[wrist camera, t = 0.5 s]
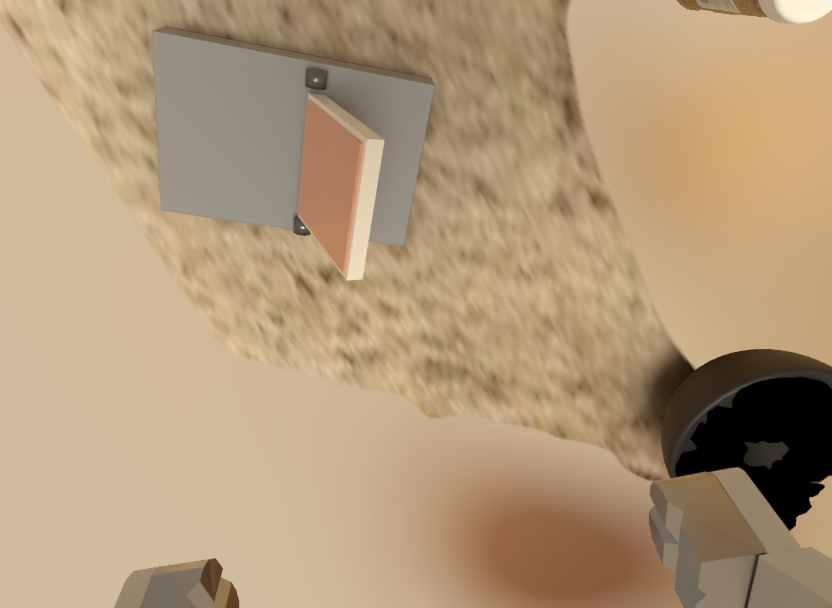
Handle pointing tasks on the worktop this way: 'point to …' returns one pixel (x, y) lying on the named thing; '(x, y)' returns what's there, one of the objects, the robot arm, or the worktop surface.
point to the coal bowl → (755, 425)
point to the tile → (339, 182)
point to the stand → (273, 129)
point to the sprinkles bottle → (766, 8)
